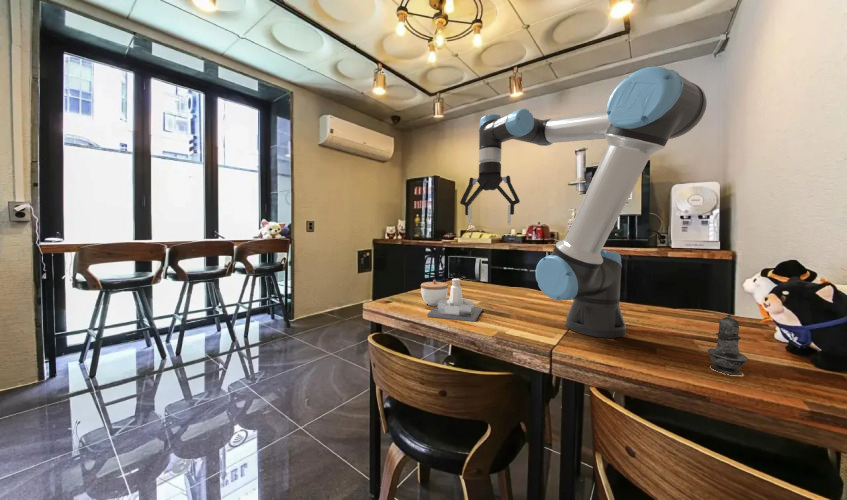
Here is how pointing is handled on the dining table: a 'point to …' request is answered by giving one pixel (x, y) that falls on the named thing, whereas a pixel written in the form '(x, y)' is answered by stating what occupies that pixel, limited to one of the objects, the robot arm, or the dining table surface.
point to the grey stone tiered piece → (727, 348)
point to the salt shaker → (456, 292)
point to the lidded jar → (434, 292)
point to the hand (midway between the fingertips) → (488, 224)
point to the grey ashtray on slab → (456, 310)
